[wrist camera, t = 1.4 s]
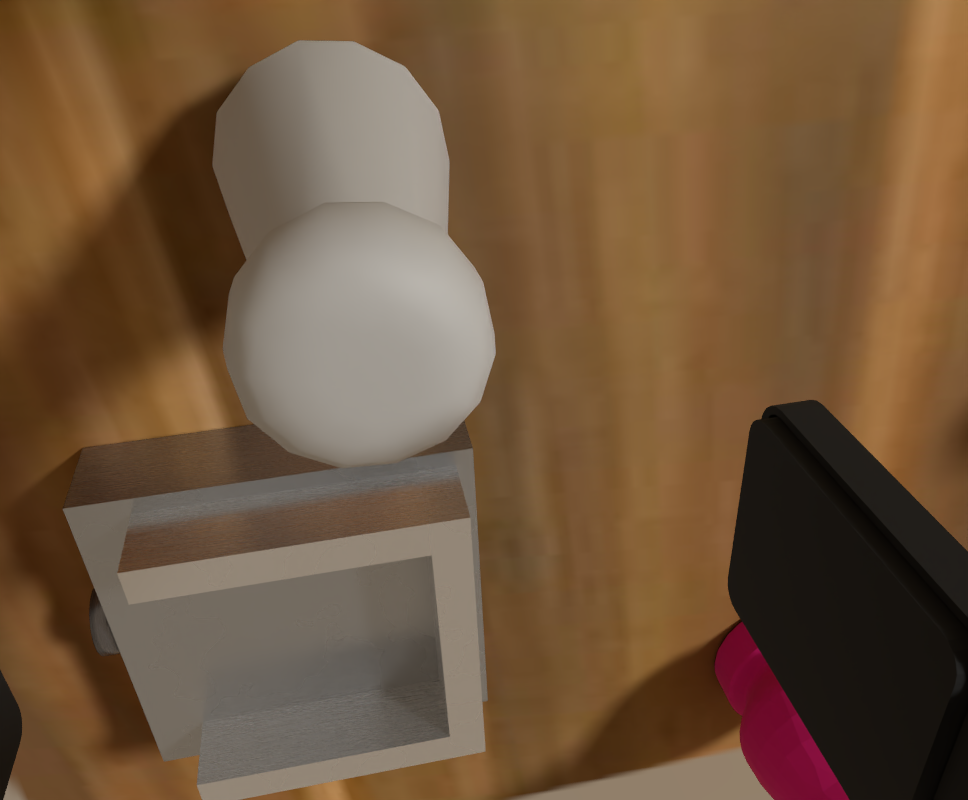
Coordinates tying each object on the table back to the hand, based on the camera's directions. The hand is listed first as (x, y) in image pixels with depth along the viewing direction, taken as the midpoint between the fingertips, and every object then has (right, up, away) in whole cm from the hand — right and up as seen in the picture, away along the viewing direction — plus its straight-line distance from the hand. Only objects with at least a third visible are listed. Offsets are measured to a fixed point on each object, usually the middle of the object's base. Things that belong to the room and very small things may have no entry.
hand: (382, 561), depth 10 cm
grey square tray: (-5, -4, +21) cm, 22 cm away
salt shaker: (-3, +9, +14) cm, 17 cm away
